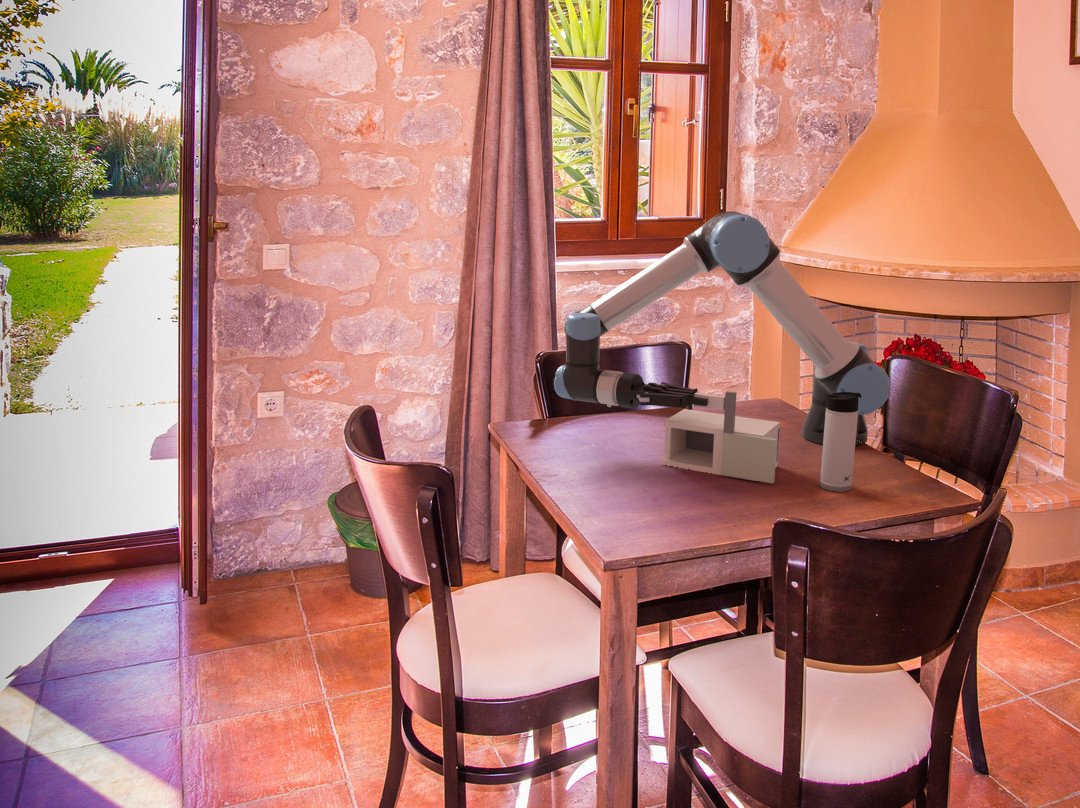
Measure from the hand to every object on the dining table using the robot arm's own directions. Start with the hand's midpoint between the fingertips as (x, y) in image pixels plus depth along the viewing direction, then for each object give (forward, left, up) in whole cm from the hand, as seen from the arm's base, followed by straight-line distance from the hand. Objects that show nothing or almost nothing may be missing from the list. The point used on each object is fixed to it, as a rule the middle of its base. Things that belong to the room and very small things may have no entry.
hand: (724, 403), depth 207 cm
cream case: (-1, -7, -16) cm, 18 cm away
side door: (-5, +3, -15) cm, 16 cm away
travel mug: (-23, +7, -16) cm, 29 cm away
